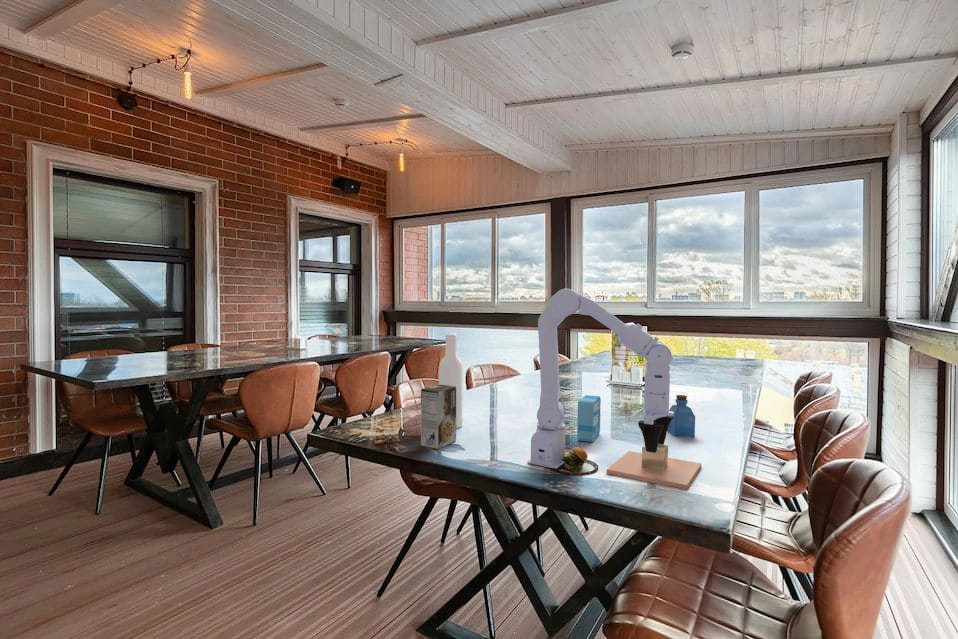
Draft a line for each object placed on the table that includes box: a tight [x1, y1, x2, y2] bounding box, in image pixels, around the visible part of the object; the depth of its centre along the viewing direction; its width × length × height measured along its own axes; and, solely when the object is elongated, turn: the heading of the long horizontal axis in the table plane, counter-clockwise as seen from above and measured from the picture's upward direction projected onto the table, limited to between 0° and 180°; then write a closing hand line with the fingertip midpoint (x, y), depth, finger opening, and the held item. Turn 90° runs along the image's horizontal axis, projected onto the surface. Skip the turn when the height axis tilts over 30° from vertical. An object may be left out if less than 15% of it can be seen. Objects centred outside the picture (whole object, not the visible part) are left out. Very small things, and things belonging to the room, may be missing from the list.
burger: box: [555, 441, 599, 476], centre depth 124 cm, size 12×12×8 cm
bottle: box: [438, 333, 464, 430], centre depth 163 cm, size 8×8×30 cm
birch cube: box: [641, 443, 669, 471], centre depth 123 cm, size 5×5×5 cm
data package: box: [576, 394, 601, 443], centre depth 151 cm, size 12×4×12 cm, turn 156°
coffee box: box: [420, 384, 457, 450], centre depth 143 cm, size 9×6×16 cm
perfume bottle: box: [667, 394, 696, 438], centre depth 157 cm, size 6×6×12 cm
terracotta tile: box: [606, 450, 702, 490], centre depth 123 cm, size 18×18×1 cm
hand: (655, 448), depth 122 cm, fingers open, 7 cm apart
